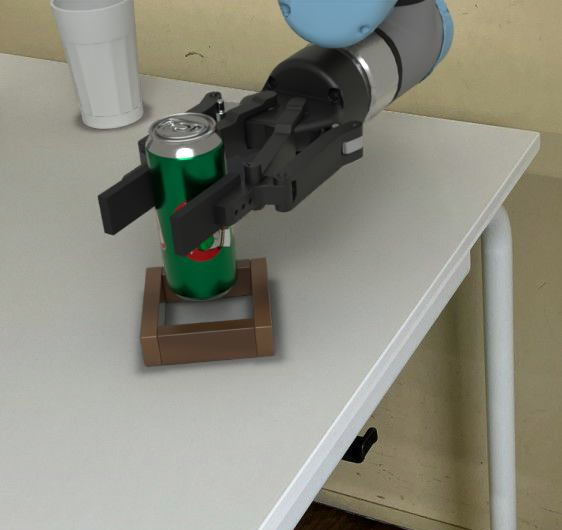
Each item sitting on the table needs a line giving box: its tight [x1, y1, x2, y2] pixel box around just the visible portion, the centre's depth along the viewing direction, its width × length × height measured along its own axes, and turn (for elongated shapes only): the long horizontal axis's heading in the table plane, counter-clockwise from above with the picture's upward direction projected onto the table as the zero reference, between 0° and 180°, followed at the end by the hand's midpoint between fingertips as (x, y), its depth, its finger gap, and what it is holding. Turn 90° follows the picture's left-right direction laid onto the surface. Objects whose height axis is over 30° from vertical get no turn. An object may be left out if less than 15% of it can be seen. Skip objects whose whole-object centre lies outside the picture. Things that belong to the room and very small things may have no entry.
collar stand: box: [139, 256, 276, 367], centre depth 72 cm, size 9×9×2 cm
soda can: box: [145, 112, 238, 302], centre depth 67 cm, size 5×5×12 cm
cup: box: [49, 0, 145, 130], centre depth 100 cm, size 8×8×12 cm
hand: (141, 225), depth 63 cm, fingers closed on soda can, 5 cm apart
